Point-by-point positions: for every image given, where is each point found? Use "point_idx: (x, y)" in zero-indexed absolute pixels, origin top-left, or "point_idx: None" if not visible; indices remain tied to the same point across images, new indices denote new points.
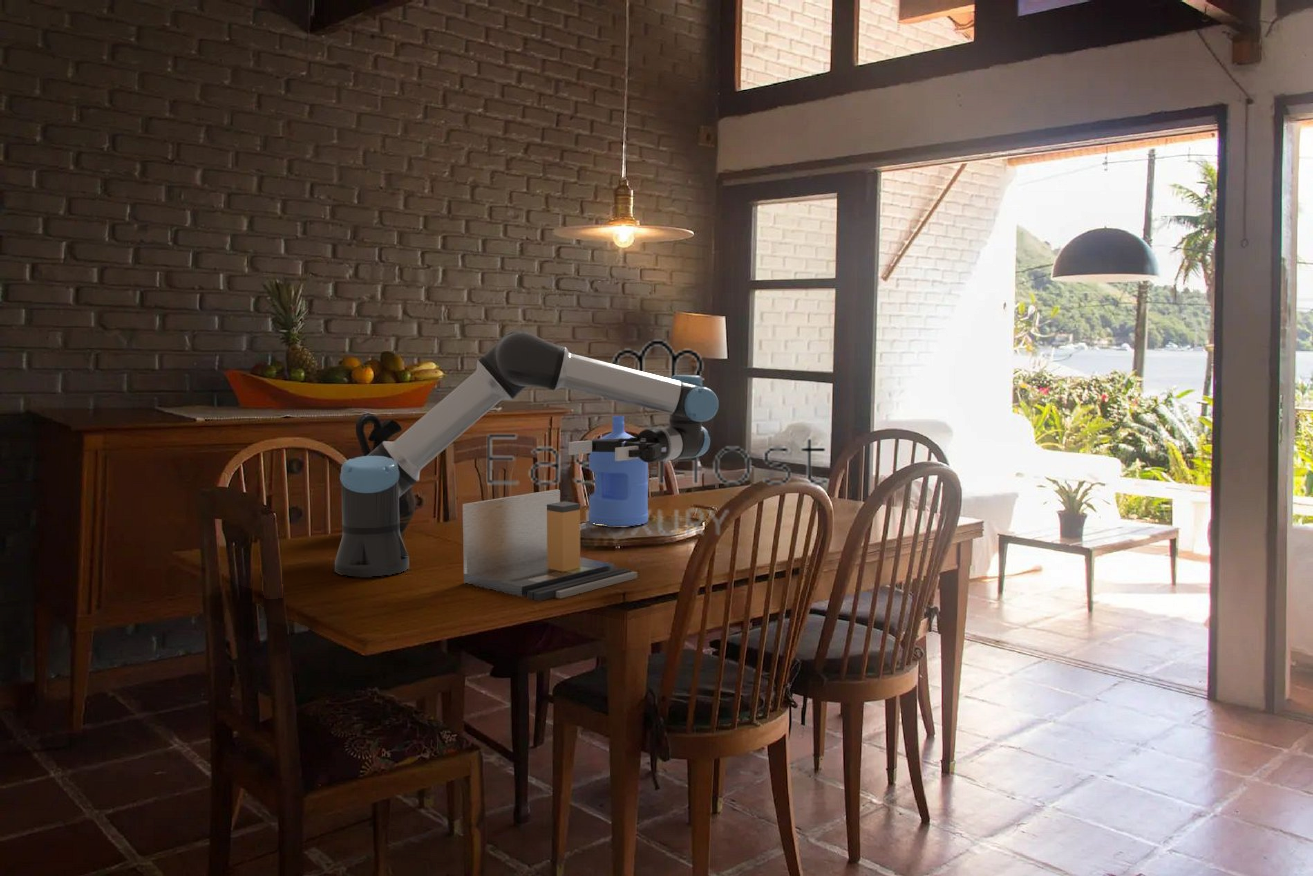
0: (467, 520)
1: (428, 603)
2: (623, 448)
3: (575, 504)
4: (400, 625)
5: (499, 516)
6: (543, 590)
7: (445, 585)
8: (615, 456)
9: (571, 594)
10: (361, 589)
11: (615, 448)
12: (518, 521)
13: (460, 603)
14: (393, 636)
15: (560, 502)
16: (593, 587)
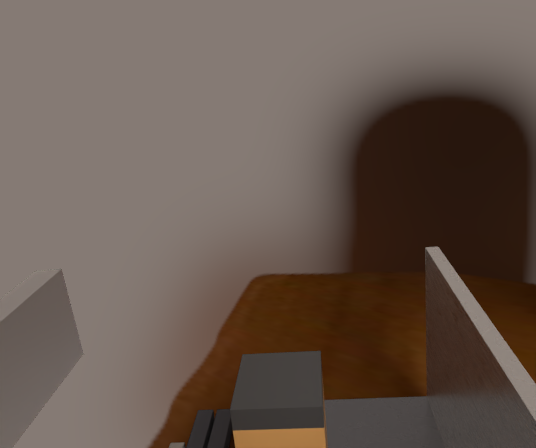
0: (426, 285)
1: (346, 337)
2: (2, 307)
3: (234, 393)
4: (281, 296)
5: (454, 342)
6: (207, 427)
7: None
8: (71, 327)
9: None
10: (503, 321)
11: (60, 274)
12: (478, 415)
13: None
14: (253, 284)
15: (313, 387)
16: None
